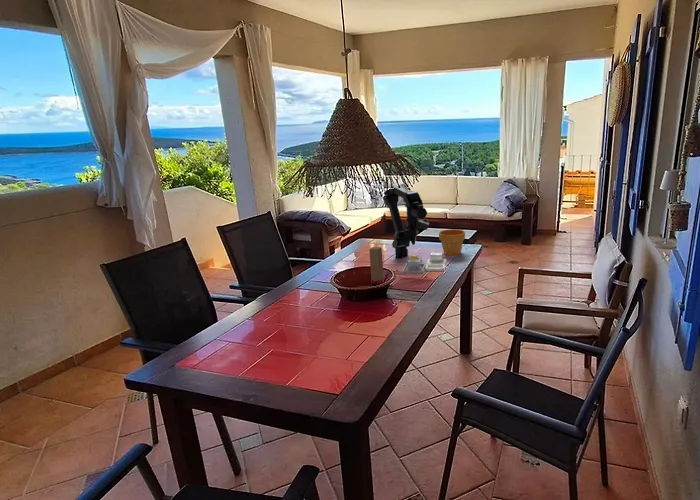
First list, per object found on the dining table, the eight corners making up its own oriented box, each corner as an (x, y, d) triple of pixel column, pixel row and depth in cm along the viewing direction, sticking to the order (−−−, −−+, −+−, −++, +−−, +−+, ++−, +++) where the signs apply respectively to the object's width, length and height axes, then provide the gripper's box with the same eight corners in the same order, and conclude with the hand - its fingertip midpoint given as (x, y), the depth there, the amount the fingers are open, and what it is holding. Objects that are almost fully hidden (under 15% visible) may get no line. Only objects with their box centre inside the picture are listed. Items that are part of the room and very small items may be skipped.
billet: (407, 271, 219) (407, 261, 218) (409, 268, 223) (408, 259, 222) (419, 271, 218) (419, 261, 216) (420, 268, 221) (420, 259, 220)
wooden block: (392, 284, 204) (390, 247, 199) (388, 287, 200) (386, 250, 195) (375, 282, 208) (373, 246, 204) (371, 285, 205) (368, 248, 200)
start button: (410, 262, 230) (410, 256, 229) (411, 260, 233) (411, 254, 232) (417, 262, 229) (417, 256, 228) (418, 260, 232) (417, 254, 231)
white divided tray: (424, 272, 216) (424, 268, 216) (428, 262, 232) (427, 258, 231) (444, 272, 213) (444, 268, 213) (446, 262, 229) (446, 258, 228)
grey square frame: (407, 265, 229) (406, 261, 229) (408, 261, 236) (408, 257, 235) (420, 265, 227) (420, 261, 227) (421, 261, 234) (421, 257, 233)
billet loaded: (430, 263, 226) (430, 254, 224) (431, 261, 229) (431, 252, 228) (442, 264, 224) (442, 254, 223) (442, 261, 228) (442, 252, 226)
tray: (402, 274, 216) (402, 271, 215) (406, 266, 228) (406, 263, 227) (422, 274, 213) (422, 271, 212) (425, 266, 225) (425, 263, 225)
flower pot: (459, 259, 233) (458, 236, 230) (435, 256, 242) (434, 234, 238) (469, 252, 244) (469, 230, 240) (446, 250, 252) (445, 228, 249)
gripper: (426, 219, 214) (427, 249, 218) (429, 212, 231) (430, 240, 235) (403, 219, 217) (405, 249, 221) (409, 212, 234) (410, 240, 238)
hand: (413, 244), depth 229 cm, fingers closed
